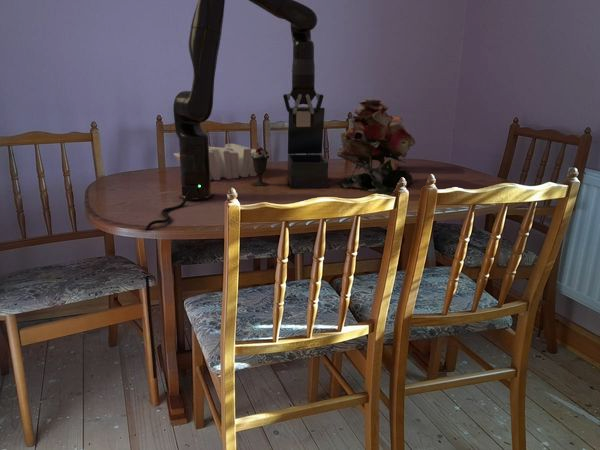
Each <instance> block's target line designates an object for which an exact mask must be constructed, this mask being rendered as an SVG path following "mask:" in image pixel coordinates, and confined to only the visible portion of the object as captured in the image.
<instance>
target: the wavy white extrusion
mask: <svg viewBox="0 0 600 450" xmlns="http://www.w3.org/2000/svg"><path fill="white" fill-rule="evenodd" d="M256 149H257V148H250V147H247V146H243V145H241V144H236V143H226V144H224V147H218V146H209V164H210V182H211V181H212V180H213V181H221V178H224V179H226V180H232V179H239V177H241V178H247V177H258V176H259V175H258V174H257V173H256V172H255V171H254V165H253V159H252V157H251V156H253V154H254V153H255V152H256ZM173 156H174V157H175V158H176V160H177V161H178V163H179V164H180V152H174V153H173Z"/></svg>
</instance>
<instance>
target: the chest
mask: <svg viewBox="0 0 600 450" xmlns="http://www.w3.org/2000/svg"><path fill="white" fill-rule="evenodd" d="M328 179H329V162H328V161H327V159H326V158H325V156H324V155H323V153H322V154H287V180H288V183H289V187H290V189H328V188H329V187H328V184H329V183H328V182H329V180H328Z"/></svg>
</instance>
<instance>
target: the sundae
mask: <svg viewBox="0 0 600 450" xmlns="http://www.w3.org/2000/svg"><path fill="white" fill-rule="evenodd" d="M255 149H256V152H255V153H254V154H253V156H251V157H252V159H253V165H254V171H255V172H256V173H257V174H258V175H257V176H258V179H257V182H253V186H257V187H265V186H267V185H268V183H267V182H264V181H263V175H264V174H265V173H266V170H267V164H268V159H269V158H270V155H268V154H269V152H268V151H267V150H266V149H264V148H263V147H262V146H260V145H259V143H256V148H255Z"/></svg>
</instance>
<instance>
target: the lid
mask: <svg viewBox="0 0 600 450" xmlns="http://www.w3.org/2000/svg"><path fill="white" fill-rule="evenodd" d="M315 108H316V107H313V109H315ZM290 109H293V107H290ZM325 110H326V109H325V107H320V111H319V112H317V113H315V114H314V123H313V124H312V125H310V127H297V126H296V125H294V124H293V123H292V113H290V112H288V122H287V123H288V126H287V131H288V132H287V155H305V154H322V155H323V145H324V143H323V141H324V129H325V128H324V127H325V125H324V124H325ZM297 112H310V110H309V107H308V106H298V109H297Z"/></svg>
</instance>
